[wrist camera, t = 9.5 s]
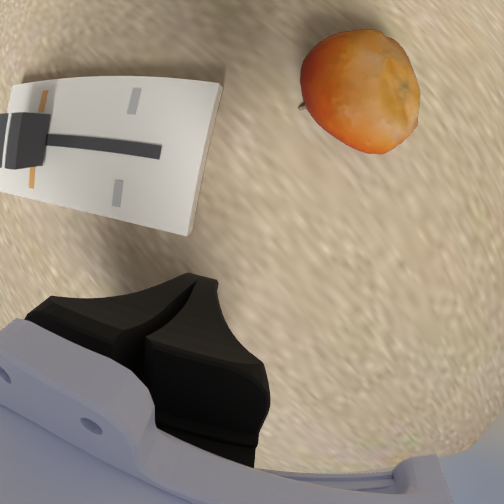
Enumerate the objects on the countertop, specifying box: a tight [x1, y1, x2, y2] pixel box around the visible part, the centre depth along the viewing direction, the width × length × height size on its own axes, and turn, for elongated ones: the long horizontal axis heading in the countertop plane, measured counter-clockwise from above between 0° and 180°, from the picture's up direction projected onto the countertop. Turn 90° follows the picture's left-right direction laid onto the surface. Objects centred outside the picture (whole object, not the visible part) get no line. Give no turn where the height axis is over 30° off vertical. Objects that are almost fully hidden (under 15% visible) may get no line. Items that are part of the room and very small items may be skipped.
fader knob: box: [0, 112, 50, 170], centre depth 17 cm, size 4×4×4 cm
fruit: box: [299, 29, 420, 154], centre depth 15 cm, size 8×8×8 cm
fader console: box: [0, 76, 223, 236], centre depth 19 cm, size 22×11×2 cm, turn 77°
